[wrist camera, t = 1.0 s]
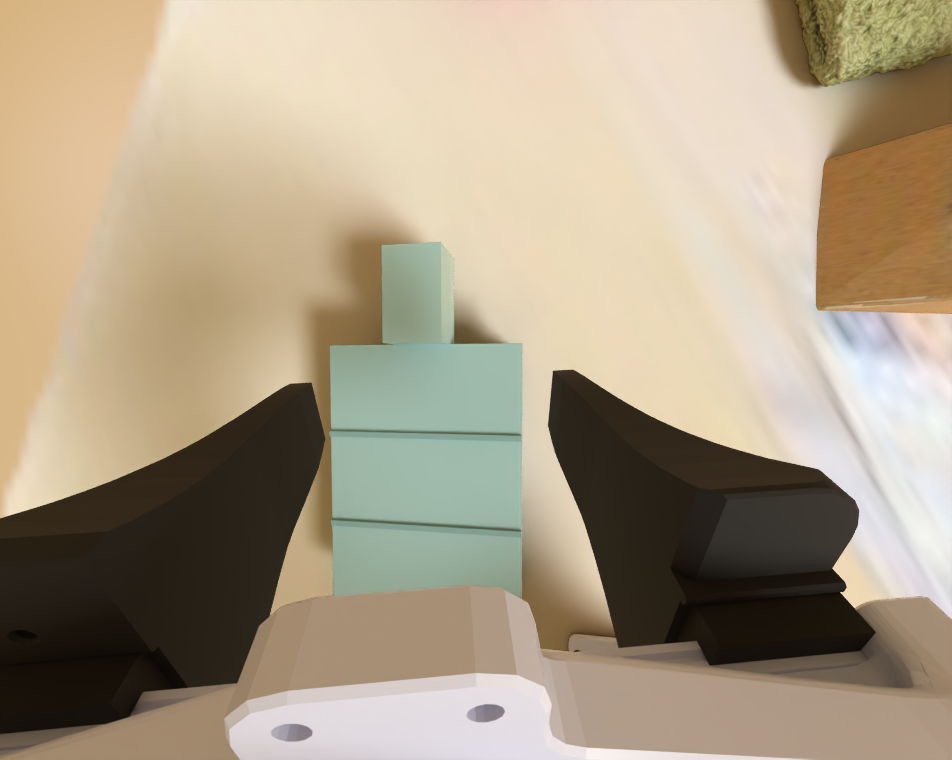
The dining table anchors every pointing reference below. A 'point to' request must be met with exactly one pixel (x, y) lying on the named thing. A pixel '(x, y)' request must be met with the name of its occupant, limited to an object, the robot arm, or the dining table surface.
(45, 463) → the dining table surface
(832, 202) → the sandwich container
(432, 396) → the mint green stepped piece
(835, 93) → the dining table surface
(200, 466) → the robot arm
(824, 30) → the washcloth
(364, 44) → the dining table surface
